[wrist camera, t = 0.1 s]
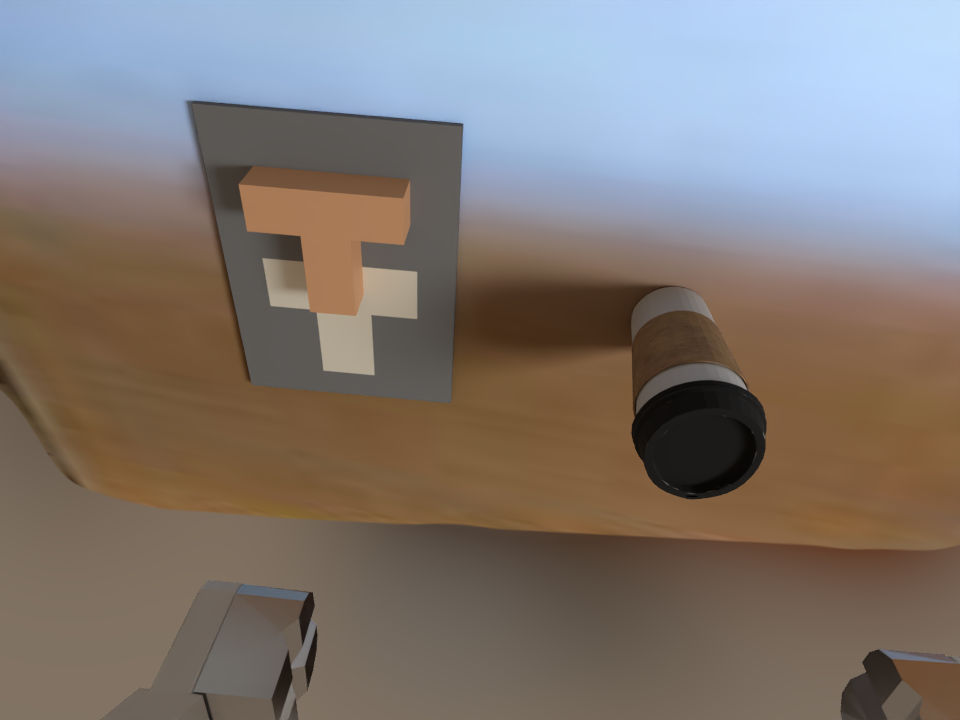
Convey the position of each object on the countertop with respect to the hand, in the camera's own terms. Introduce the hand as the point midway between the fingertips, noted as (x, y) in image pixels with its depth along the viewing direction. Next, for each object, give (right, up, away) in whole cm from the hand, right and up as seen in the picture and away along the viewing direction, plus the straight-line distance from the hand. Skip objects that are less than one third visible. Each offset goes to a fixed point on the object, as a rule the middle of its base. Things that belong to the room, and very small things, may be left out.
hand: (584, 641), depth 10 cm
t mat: (-12, +11, +42) cm, 45 cm away
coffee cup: (+13, +8, +43) cm, 46 cm away
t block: (-12, +13, +40) cm, 44 cm away
